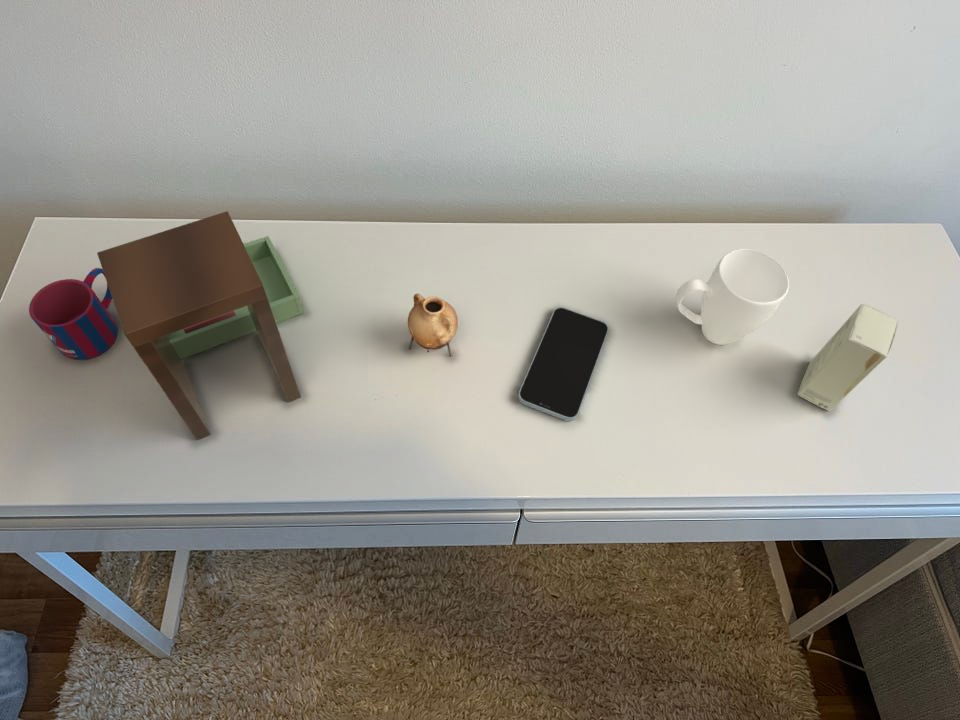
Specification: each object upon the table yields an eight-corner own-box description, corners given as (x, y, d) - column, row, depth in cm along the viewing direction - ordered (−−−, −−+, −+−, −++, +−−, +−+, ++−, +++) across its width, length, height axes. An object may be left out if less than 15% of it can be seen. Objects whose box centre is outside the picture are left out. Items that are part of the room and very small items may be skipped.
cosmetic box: (829, 413, 81) (887, 360, 71) (795, 395, 82) (847, 340, 72) (843, 375, 84) (901, 318, 74) (810, 358, 85) (863, 300, 75)
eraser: (186, 331, 81) (191, 343, 80) (178, 317, 79) (183, 329, 78) (234, 313, 83) (240, 325, 82) (228, 298, 80) (234, 310, 80)
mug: (740, 305, 89) (778, 247, 80) (757, 358, 85) (799, 304, 75) (652, 305, 88) (679, 247, 79) (665, 359, 84) (695, 304, 74)
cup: (45, 345, 79) (14, 311, 74) (106, 287, 84) (83, 251, 79) (89, 369, 78) (61, 336, 72) (149, 308, 83) (128, 273, 77)
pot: (410, 323, 85) (405, 363, 81) (410, 278, 79) (404, 319, 75) (457, 327, 85) (454, 367, 81) (461, 283, 79) (457, 324, 75)
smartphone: (611, 324, 85) (576, 421, 77) (609, 328, 86) (574, 424, 78) (556, 304, 86) (515, 398, 78) (554, 309, 87) (514, 402, 79)
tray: (172, 362, 79) (162, 346, 76) (148, 296, 84) (138, 279, 81) (303, 313, 84) (299, 296, 81) (273, 253, 89) (268, 235, 86)
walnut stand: (197, 440, 74) (124, 334, 57) (172, 371, 79) (96, 252, 61) (301, 397, 78) (263, 284, 60) (271, 333, 82) (227, 210, 65)
